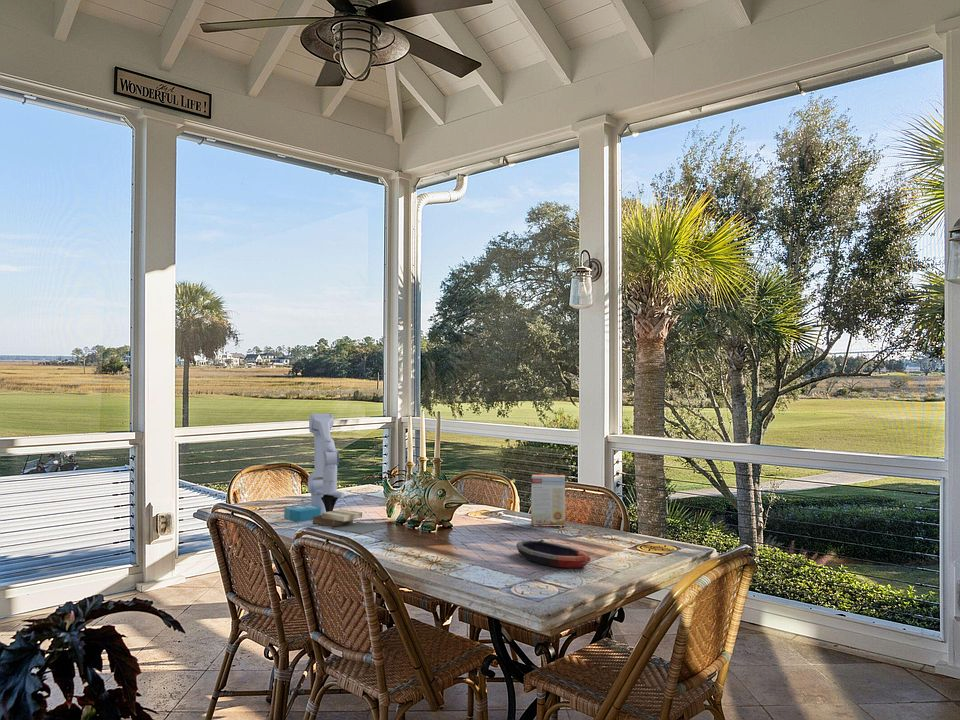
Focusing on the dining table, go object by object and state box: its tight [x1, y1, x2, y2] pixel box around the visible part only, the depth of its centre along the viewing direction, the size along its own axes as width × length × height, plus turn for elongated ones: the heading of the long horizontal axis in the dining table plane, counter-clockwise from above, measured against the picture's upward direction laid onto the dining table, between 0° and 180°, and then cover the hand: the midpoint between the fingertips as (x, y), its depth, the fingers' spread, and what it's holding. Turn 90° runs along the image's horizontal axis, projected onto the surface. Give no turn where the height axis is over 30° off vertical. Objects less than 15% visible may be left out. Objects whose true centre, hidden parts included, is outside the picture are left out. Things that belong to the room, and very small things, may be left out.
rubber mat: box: [330, 521, 389, 535], centre depth 296 cm, size 16×16×1 cm
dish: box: [516, 539, 591, 569], centre depth 248 cm, size 16×31×5 cm, turn 40°
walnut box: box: [312, 515, 354, 528], centre depth 304 cm, size 11×12×3 cm
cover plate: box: [322, 508, 363, 522], centre depth 301 cm, size 11×12×2 cm
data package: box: [283, 504, 321, 523], centre depth 314 cm, size 12×4×12 cm
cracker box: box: [530, 474, 566, 526], centre depth 307 cm, size 14×6×21 cm, turn 84°
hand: (329, 513), depth 305 cm, fingers closed
